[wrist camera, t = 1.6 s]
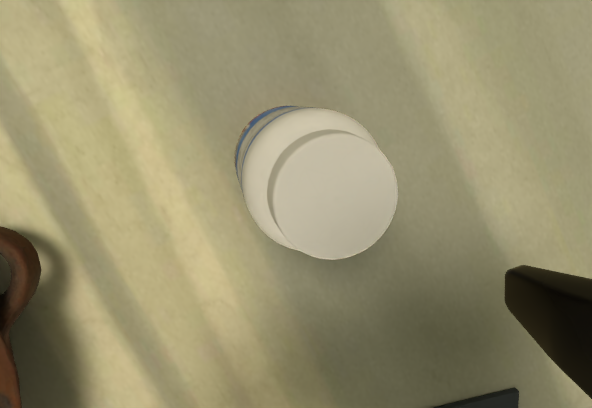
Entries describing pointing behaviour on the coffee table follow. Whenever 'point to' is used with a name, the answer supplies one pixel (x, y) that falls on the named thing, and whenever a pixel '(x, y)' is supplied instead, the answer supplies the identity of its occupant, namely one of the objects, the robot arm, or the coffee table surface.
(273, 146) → the pill bottle
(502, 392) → the mat
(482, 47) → the coffee table surface
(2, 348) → the dish
